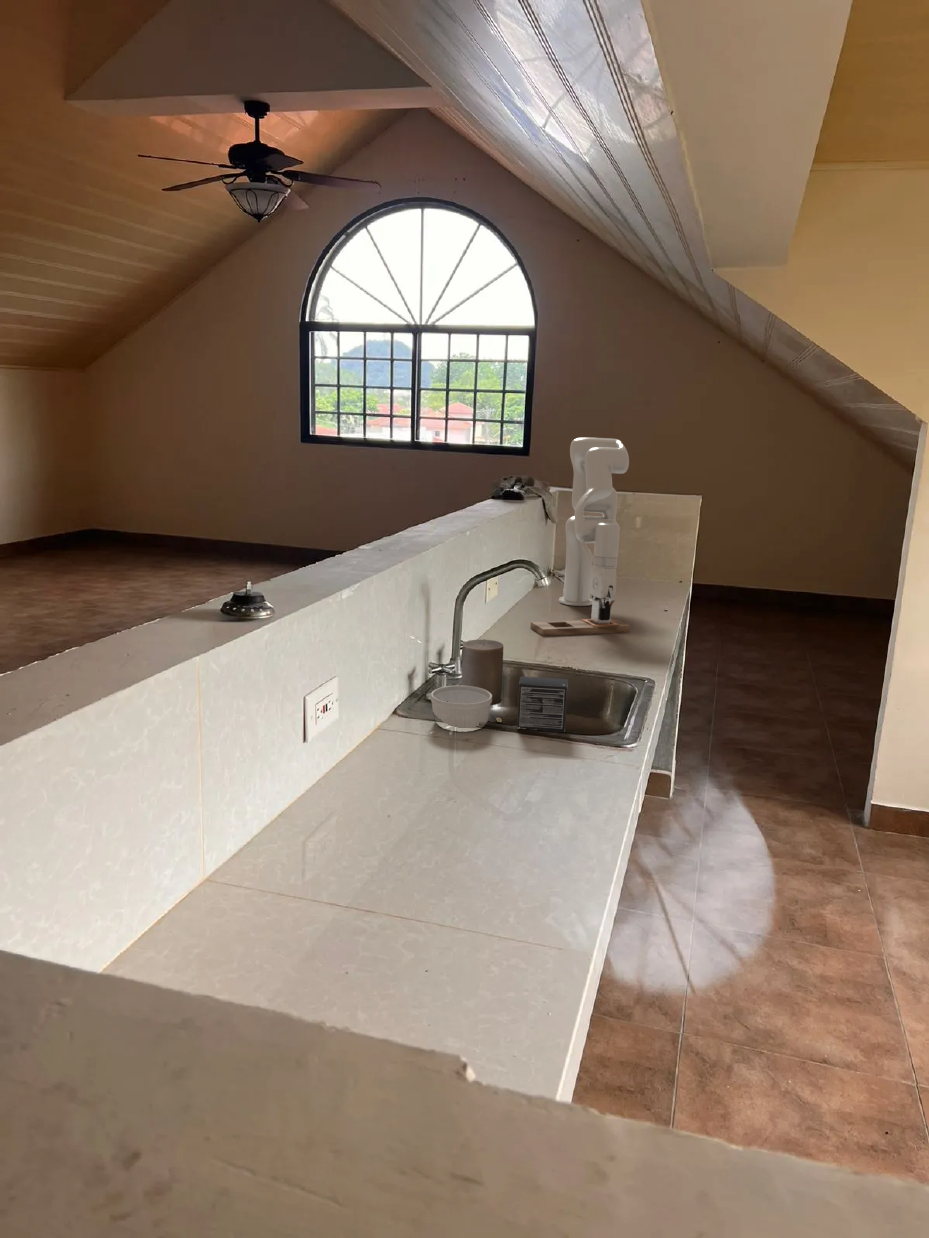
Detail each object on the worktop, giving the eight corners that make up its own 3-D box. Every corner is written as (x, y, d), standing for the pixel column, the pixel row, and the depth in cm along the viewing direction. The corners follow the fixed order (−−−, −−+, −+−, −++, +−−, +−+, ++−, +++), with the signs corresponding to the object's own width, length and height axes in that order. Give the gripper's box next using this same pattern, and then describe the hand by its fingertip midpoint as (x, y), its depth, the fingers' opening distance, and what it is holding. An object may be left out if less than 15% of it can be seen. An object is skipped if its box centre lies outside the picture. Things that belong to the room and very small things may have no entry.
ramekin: (437, 736, 189) (439, 705, 188) (423, 716, 202) (424, 686, 200) (498, 733, 193) (499, 702, 191) (480, 713, 205) (482, 683, 204)
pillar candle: (508, 698, 216) (511, 637, 213) (488, 709, 208) (491, 645, 204) (473, 691, 221) (475, 631, 217) (452, 701, 212) (454, 639, 209)
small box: (565, 723, 201) (568, 677, 198) (565, 733, 194) (568, 686, 192) (517, 719, 202) (520, 674, 199) (516, 729, 195) (518, 683, 193)
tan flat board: (530, 628, 288) (530, 620, 287) (615, 624, 297) (615, 617, 296) (542, 635, 278) (543, 628, 278) (629, 632, 288) (630, 624, 287)
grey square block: (590, 627, 291) (592, 599, 289) (603, 626, 293) (605, 599, 291) (596, 630, 287) (598, 602, 285) (609, 629, 289) (611, 602, 287)
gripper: (582, 557, 292) (578, 612, 296) (606, 566, 276) (602, 624, 280) (603, 557, 294) (599, 611, 298) (628, 566, 278) (623, 623, 282)
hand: (600, 617), depth 289 cm, fingers open, 4 cm apart
